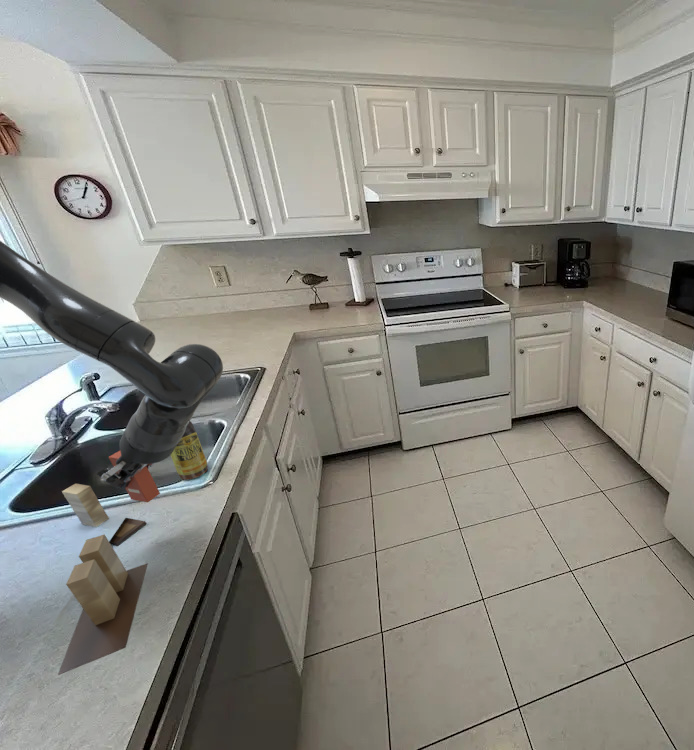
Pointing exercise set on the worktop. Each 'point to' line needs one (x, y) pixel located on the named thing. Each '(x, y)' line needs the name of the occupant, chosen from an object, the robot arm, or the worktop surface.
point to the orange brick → (139, 483)
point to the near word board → (106, 631)
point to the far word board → (97, 512)
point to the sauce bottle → (189, 455)
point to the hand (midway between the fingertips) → (128, 479)
